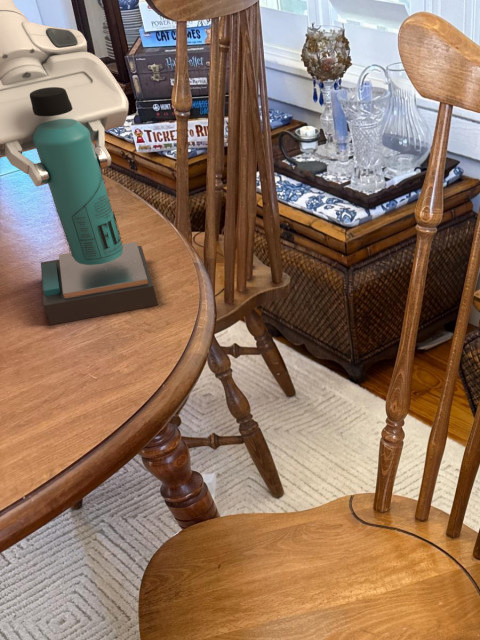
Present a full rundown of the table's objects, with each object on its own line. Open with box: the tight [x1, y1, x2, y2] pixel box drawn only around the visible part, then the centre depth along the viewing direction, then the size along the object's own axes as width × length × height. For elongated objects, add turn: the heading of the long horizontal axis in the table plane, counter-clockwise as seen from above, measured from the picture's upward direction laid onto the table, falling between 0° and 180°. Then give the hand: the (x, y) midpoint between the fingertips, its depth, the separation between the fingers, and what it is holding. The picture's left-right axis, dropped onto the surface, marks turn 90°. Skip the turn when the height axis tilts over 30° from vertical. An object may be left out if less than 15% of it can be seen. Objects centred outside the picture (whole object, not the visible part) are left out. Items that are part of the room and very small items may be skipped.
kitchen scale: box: [40, 241, 159, 326], centre depth 100 cm, size 13×13×3 cm
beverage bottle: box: [30, 87, 123, 265], centre depth 92 cm, size 6×7×20 cm
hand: (75, 173), depth 91 cm, fingers closed on beverage bottle, 6 cm apart
